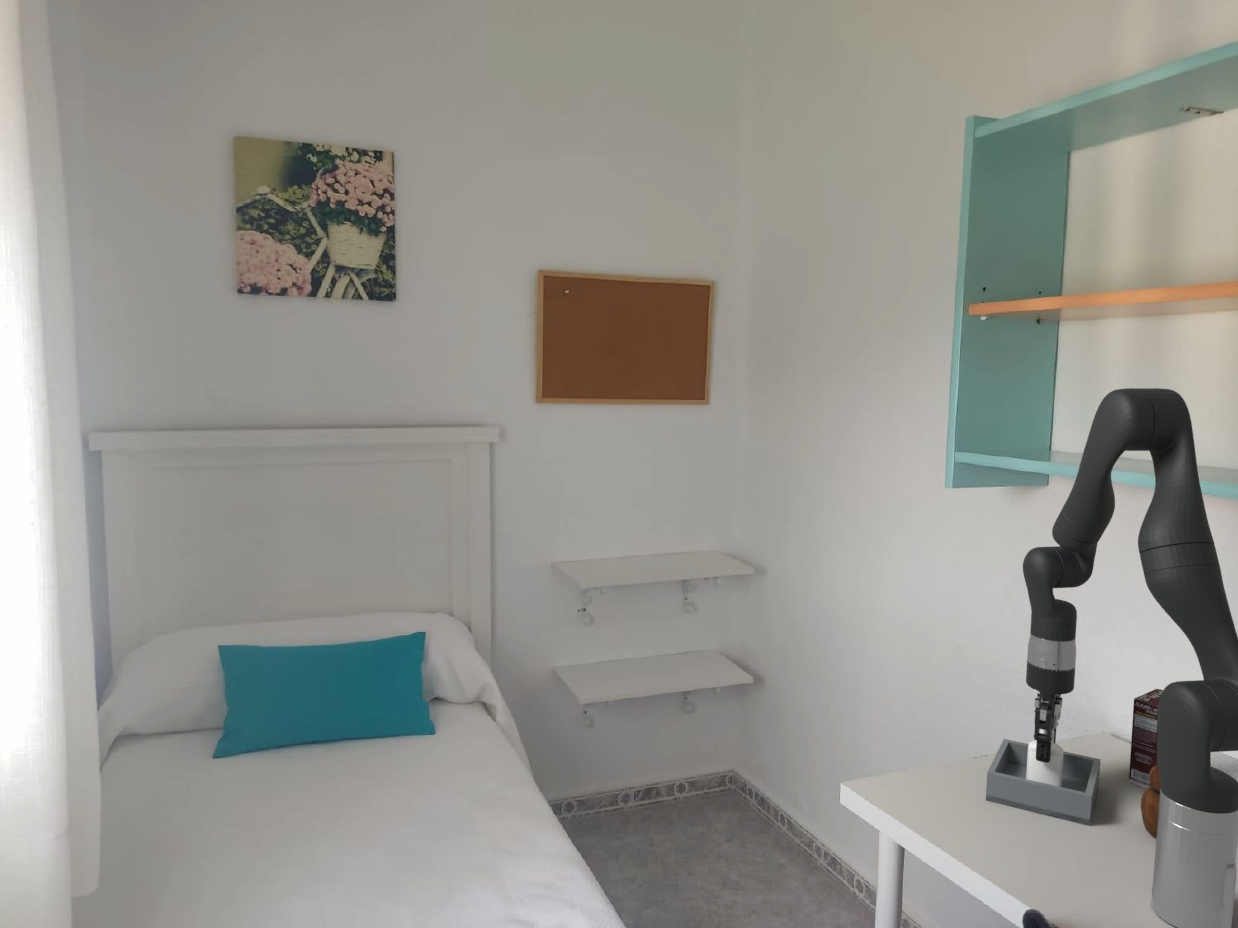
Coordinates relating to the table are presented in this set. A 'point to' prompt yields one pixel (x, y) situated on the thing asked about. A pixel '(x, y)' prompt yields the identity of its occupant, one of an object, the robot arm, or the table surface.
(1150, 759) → the supplement box
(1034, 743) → the eye dropper bottle
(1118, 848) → the table surface
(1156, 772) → the wooden figurine
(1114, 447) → the robot arm
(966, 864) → the table surface
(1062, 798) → the box
